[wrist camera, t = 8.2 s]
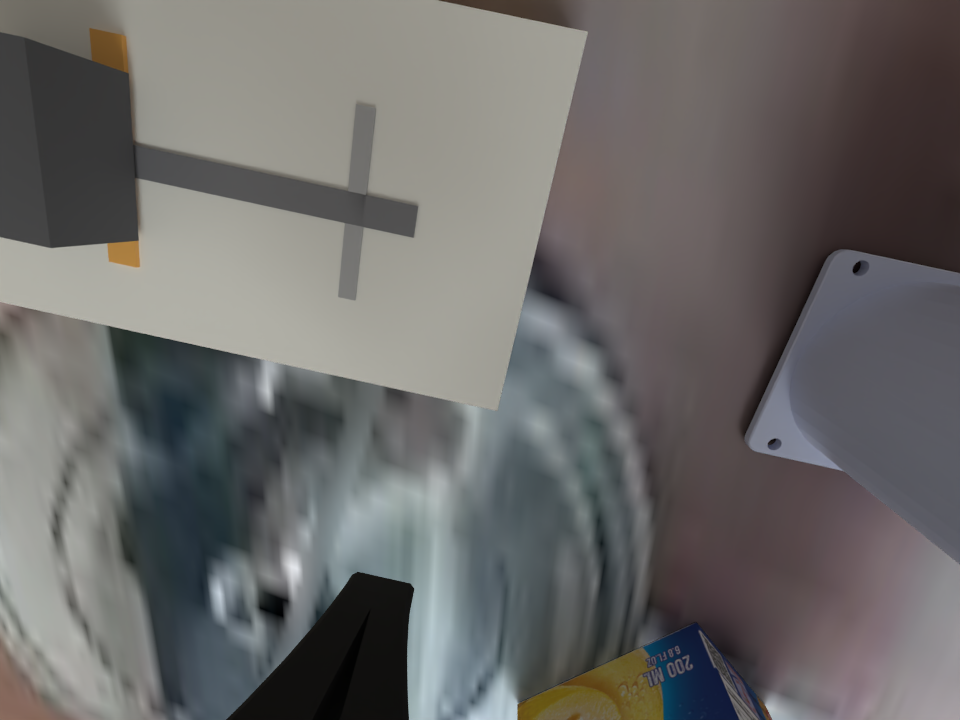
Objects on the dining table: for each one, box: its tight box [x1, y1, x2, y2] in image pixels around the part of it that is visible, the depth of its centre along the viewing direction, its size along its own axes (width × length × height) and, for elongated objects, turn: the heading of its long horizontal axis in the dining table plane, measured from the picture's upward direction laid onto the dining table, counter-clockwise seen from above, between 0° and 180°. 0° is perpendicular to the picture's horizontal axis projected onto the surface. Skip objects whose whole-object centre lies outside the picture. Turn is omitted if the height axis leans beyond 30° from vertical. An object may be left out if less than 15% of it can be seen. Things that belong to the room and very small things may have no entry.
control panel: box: [0, 0, 588, 411], centre depth 15 cm, size 20×12×2 cm, turn 78°
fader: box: [0, 32, 139, 248], centre depth 13 cm, size 4×5×3 cm
